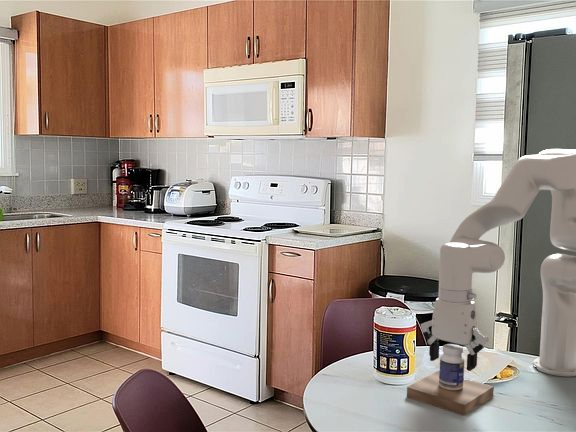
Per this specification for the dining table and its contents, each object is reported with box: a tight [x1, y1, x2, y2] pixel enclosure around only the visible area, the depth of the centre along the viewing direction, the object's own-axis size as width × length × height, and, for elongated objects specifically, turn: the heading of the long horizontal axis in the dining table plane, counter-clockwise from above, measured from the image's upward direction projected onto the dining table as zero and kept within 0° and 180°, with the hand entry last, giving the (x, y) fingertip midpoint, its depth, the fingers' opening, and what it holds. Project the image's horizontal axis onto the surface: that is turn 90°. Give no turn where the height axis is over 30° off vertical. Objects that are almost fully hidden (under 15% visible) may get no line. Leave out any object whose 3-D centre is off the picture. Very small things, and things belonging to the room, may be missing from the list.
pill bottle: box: [439, 343, 465, 390], centre depth 152 cm, size 6×6×10 cm
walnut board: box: [406, 370, 495, 416], centre depth 152 cm, size 15×15×2 cm
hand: (452, 364), depth 152 cm, fingers open, 9 cm apart
